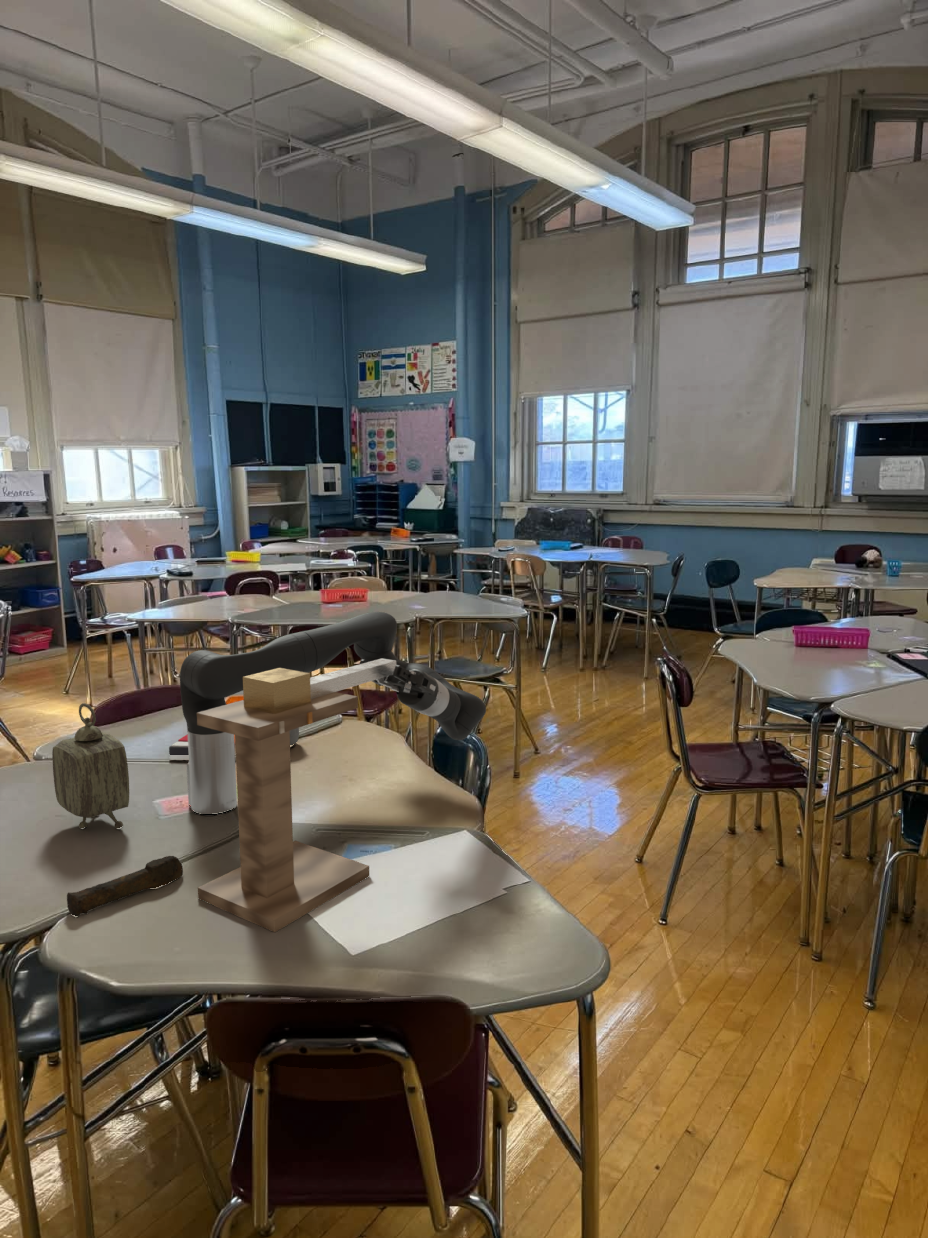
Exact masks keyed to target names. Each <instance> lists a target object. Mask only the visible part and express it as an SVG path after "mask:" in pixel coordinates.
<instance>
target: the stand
mask: <svg viewBox="0 0 928 1238" xmlns="http://www.w3.org/2000/svg"><path fill="white" fill-rule="evenodd" d="M358 699H359V698H358V696H357V695H352V694H347V693H342V692H338V691H337V692H333V693H330V694H326V695H323V696H320V697H316V698H313V699H311V703H310V704H306V705H303V706H300V707H296V708H293V709H290V710H287V711H283V712H280V713H277V714H271V713H267V712H263V711H258V710H254V709H250V708H245V707H244V699H242V700H238V701H235V702H231V703H228V704H227V703H226V704H227V705H223V706H220V707H216V708H212V709H209V710H205V711H201V712H198V713H197V725H199V726H203V727H207V728H210V729H214V730H218V731H222V732H226V733H230V734H234V743H235V766H236V791H237V809H238V810H237V814H238V817H237V818H238V835H239V836H238V839H239V861H240V867H237V868H235V869H233V870H231V871H229V872H227V873H225V874H223V875H221V876H218V877H217V878H215V879H213V880H210V881H208V882H207V883H204V884H202V885H200V886H198V887H197V899H198V898H199V899H198V900H200V899H201V900H200V901H202V900H204V901H206V902H208V903H207V904H209V903H210V904H209V905H211V904H212V905H211V906H213V905H214V907H216V908H218V909H221V910H223V911H224V912H225V911H226V912H228V913H229V914H231V915H234V916H237V917H239V918H241V919H243V920H245V921H248V922H250V923H253V924H255V925H257V926H259V927H262V928H264V929H266V930H269V931H271V932H273V933H276V932H278V931H280V930H281V929H284V928H285V927H287V926H288V925H290V924H292V923H294V922H295V921H297V920H298V919H301V918H302V917H303V916H306V915H307V914H309V913H310V912H312V911H314V910H315V909H317V908H319V907H320V906H322V905H324V904H326V903H327V902H329V901H331V900H332V899H334V898H335V897H338V896H339V895H340V894H341V895H342V893H344V892H346V891H347V890H349V889H351V888H353V887H355V886H356V885H357V884H359V883H361V882H362V880H363V881H365V880H366V879H367V877H368V876H369V877H370V865H368V864H365V863H362V862H359V861H356V860H353V859H350V858H347V857H344V856H341V855H339V854H336V853H333V852H330V851H328V850H325V849H321V848H318V847H315V846H312V845H309V844H307V843H303V842H301V841H297V840H294V839H293V838H294V836H293V835H294V833H293V832H294V831H293V828H294V827H293V804H292V803H293V802H292V799H293V797H292V769H291V768H292V767H291V766H292V765H291V748H290V733H289V731H290V730H293V729H296V728H299V729H300V728H302V727H305V726H309V725H311V724H313V723H317V722H319V721H323V720H325V719H329V718H332V717H335V716H339V715H341V714H344V713H346V712H350V711H353V710H357V709H358V708H359V700H358ZM369 877H368V878H369ZM365 878H366V879H365ZM360 881H361V882H360ZM352 886H353V887H352ZM204 901H203V902H204ZM206 902H205V903H206Z"/></svg>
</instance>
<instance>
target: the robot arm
mask: <svg viewBox="0 0 928 1238" xmlns="http://www.w3.org/2000/svg"><path fill="white" fill-rule="evenodd" d="M397 630H398V622H397V620H396V618H395V617H394V616H393V615H392V614H389V613H387V612H385V611H384V612H382V611H371V612H366V613H362V614H358V615H356V616H353V617H350V618H348V619H345V620H343V621H340V622H339V621H338V622H336V623H333V624H329V625H325V626H321V627H316V628H313V629H309V630H302V631H299V632H294V633H289V634H285V635H282V636H280V637H277V638H275V639H273V640H271V641H270V642H268V643H267V644H266V645H264V646H262V647H260V648H257V649H255V650H253V651H247V652H241V653H236V654H227V655H226V654H219V653H217V652H213V651H209V650H205V649H202V650H200V649H199V650H195V651H193V652H191V653H189V654H188V655H187V656H186V658H184V660H183V662H182V664H181V667H180V672H179V686H180V687H179V688H180V699H181V709H182V714H183V717H184V721H185V722H186V730H187V734H188V751H189V761H188V763H186V780H187V796H188V797H187V798H188V799H187V801H188V805H189V804H190V805H191V807H190V809H191V811H192V810H194V811H195V812H198V813H201V814H212V813H219V812H224V811H227V810H230V809H232V808H234V809H236V807H238V794H237V771H236V748H235V735H234V734H230V733H226V732H222V731H218V730H214V729H210V728H207V727H203V726H199V725H197V713H198V712H201V711H205V710H209V709H212V708H216V707H220V706H223V705H227V701H226V699H225V698H227V697H230V696H233V695H235V694H238V693H240V692H243V677H244V676H248V675H253V674H257V673H261V672H265V671H269V670H273V669H277V668H284V669H289V670H295V671H300V672H305V673H311V672H315V671H317V670H320V669H322V668H323V667H325V666H326V665H328V664H329V663H330V662H331V661H332V660H334V659H335V658H336V657H338V656H339V654H341V653H342V652H343V651H345V650H346V649H347V648H349V647H351V646H352V645H353V650H354V652H355V654H356V655H357V656H358V657H359V658H360V660H359V661H360V662H359V664H363V663H367V662H370V661H374V660H378V659H382V658H383V659H389V660H395V661H396V666H395V669H394V672H393V675H390V676H387V677H383V678H380V679H377V680H373V681H371V682H372V683H374V684H376V685H378V686H379V687H387V688H389V689H390V690H392V691H394V692H396V697H397V699H398V701H399V702H400V703H401V704H403V705H405V706H406V707H408V708H410V709H412V710H414V711H416V712H417V713H420V714H422V715H424V716H425V715H426V716H428V717H429V718H431V719H433V720H435V721H436V722H437V723H438V724H439V726H440V728H441V729H442V730H443V731H444V733H445V734H446V735H447V736H448V737H449V738H450V739H452V740H455V741H462V740H465V739H467V738H468V737H469V735H470V734H471V733H472V732H473V731H474V729H475V728H476V727H477V725H478V724H479V723H480V722H481V721H482V719H483V717H484V716H485V715H486V712H487V708H486V704H485V702H484V701H483V700H482V699H481V698H479V697H478V696H477V695H475V694H473V693H470V692H468V691H465V690H463V689H460V688H458V687H456V686H455V685H453V684H451V682H449V681H448V680H446V679H445V678H444V677H443V676H442V675H441V674H439V673H438V672H437V671H436V670H434V669H433V668H431V666H430V667H429V666H428V665H425V664H422V663H416V662H415V663H414V662H405V661H402V660H400V659H399V658H398V657H397V656H396V655H395V654H394V652H393V648H394V643H395V640H396V636H397Z"/></svg>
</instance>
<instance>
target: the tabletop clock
mask: <svg viewBox="0 0 928 1238" xmlns="http://www.w3.org/2000/svg"><path fill="white" fill-rule="evenodd" d="M83 708H86V709H88V710H89V711H90V713H91V716H92V721H91V718H90V717H88V716H87V717H86V718H85V717H84V716H83V714H82V709H83ZM78 715H79V718H80V720H81V722H82V723H83V724H84V726H81V727H79V728H78V729H77V730H76V732H75V733H74V737H70V738H67V739H62V740H60V741H59V742H57V744H55V746H53V747H52V752H51V754H52V756H51V757H52V759H51V760H52V771H53V772H52V774H53V775H52V776H53V783H54V784H53V785H54V793H55V797H56V801H57V803H58V805H60V806H61V807H62V808H63V809H64V810H66V811H67V812H68V813H70V814H71V815H74V816H76V817H82V821H81V822H79V824H78V828H79V827H80V828H84V827H87V828H88V826H89V825H88V822H87V819H91V818H93V817H97V816H101V815H106V816H107V817H109V818H110V819H111V820H112V822H113V823H114V825H113V826H114V829H116V828H120V827H122V826H123V827H124V823H123V821H121V820H117V818H116V816H115V815H114V813H113V812H114V811H118V810H122V809H125V808H128V807H129V804H130V776H129V766H128V758H127V751H126V749H125V746H124V744H123V743H122V741H120V740H119V739H118V738H117V737H115V736H113V735H111V734H109V733H106V732H103V731H101V729H100V728H99V727H98V726H95V724H96V720H97V719H96V713H95V711H94V708H93V707H92V706H91V705H90V704H89V703H87V702H86V703H85V702H83V703H81V704H79V706H78ZM123 827H122V828H123ZM80 828H79V829H80Z"/></svg>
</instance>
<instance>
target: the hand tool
mask: <svg viewBox="0 0 928 1238" xmlns="http://www.w3.org/2000/svg"><path fill="white" fill-rule="evenodd" d="M183 873H184V867H183V864H182V863H181V861H180V859H179V858H178V857H177V856H174V855H166V856H163V857H161V858H157V859H152V860H151V861H149V862H147V863H146V864H145V867H144V868H142V869H138V870H136V871H134V872H132V873H128V874H126V875H123V876H120V877H117V878H113V879H111V880H109V881H105V882H102V883H99V884H96V885H94V886H91V887H87V888H84V889H82V890H78V891H75V892H67V893H66V905H67V906H66V907H67V909H68V912H69V914H70V915H71V914H72V915H75V916H78V917H79V916H80V915H83V914H84V915H88V914H87V913H89V912H90V911H91V910H94V909H97V908H101V907H102V906H104V905H108V904H110V903H113V902H116V901H119V900H122V899H124V898H127V897H130V896H132V895H134V894H135V895H136V894H137V893H139V892H142V891H145V890H151V889H150V888H156V887H159V886H161V885H165V884H168V883H169V882H171V881H173V880H175V879H176V880H178V879H179V878H181V877H182V876H183ZM177 878H178V879H177ZM176 880H175V881H176ZM173 882H174V881H173ZM171 883H172V882H171ZM169 884H170V883H169ZM169 884H168V885H169ZM72 915H71V916H72Z"/></svg>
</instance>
